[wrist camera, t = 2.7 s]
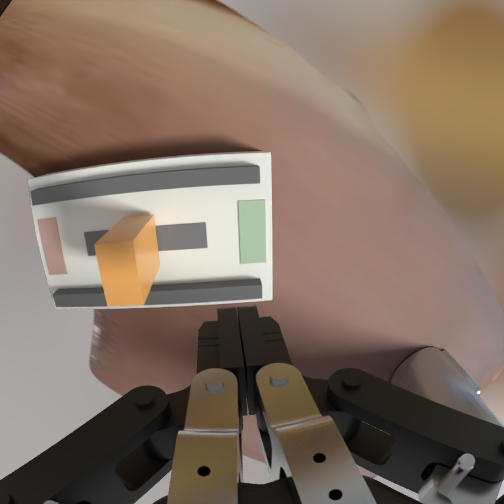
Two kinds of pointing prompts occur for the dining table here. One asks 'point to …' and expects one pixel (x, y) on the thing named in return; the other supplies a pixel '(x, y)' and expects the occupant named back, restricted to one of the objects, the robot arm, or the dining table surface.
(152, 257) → the block
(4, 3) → the manual coffee grinder
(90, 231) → the breaker panel
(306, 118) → the dining table surface
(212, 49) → the dining table surface
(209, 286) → the pair of grey rails
